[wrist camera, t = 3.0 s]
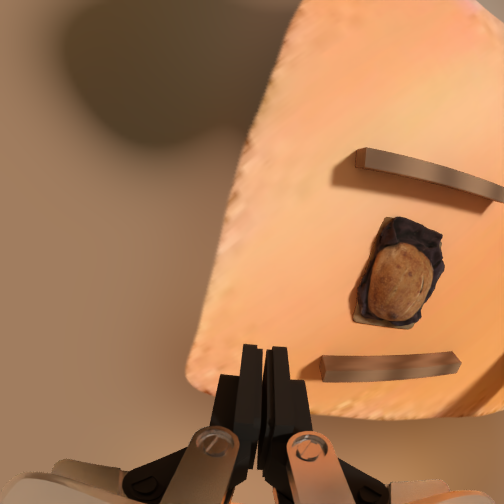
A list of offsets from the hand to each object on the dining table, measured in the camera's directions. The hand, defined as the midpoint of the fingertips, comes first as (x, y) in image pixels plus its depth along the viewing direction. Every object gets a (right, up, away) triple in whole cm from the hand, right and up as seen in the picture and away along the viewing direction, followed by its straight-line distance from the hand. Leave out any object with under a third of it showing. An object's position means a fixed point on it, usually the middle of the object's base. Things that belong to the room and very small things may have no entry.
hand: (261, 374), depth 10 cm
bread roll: (+14, +3, +14) cm, 20 cm away
